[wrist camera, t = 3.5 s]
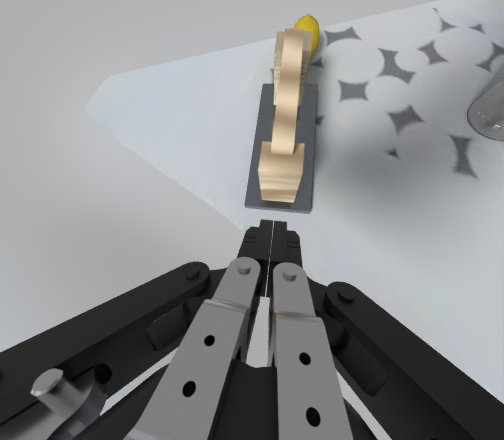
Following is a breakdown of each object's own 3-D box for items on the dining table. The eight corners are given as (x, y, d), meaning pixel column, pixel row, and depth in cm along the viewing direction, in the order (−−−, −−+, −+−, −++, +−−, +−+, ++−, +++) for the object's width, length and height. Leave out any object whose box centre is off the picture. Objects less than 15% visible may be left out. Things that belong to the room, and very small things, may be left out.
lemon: (318, 67, 41) (328, 19, 33) (293, 74, 41) (298, 29, 33) (309, 50, 43) (317, 1, 35) (285, 57, 43) (288, 10, 35)
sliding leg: (292, 205, 31) (305, 163, 19) (262, 202, 32) (256, 160, 20) (300, 107, 36) (314, 28, 25) (274, 106, 37) (275, 29, 25)
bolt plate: (309, 213, 32) (330, 179, 21) (245, 207, 34) (232, 172, 22) (316, 89, 39) (334, 13, 28) (263, 89, 41) (260, 16, 29)
